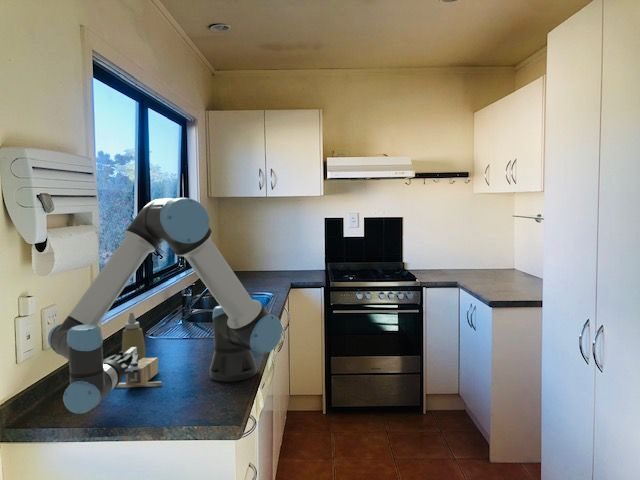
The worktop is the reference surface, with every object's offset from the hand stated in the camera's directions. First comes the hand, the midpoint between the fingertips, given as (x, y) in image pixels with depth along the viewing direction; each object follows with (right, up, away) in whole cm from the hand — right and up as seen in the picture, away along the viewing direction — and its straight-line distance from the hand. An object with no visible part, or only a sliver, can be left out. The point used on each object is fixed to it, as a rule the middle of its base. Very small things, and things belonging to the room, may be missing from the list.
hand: (134, 351), depth 157 cm
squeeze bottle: (-9, -10, +26) cm, 29 cm away
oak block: (+1, -7, -1) cm, 8 cm away
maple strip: (+1, -11, +2) cm, 11 cm away
